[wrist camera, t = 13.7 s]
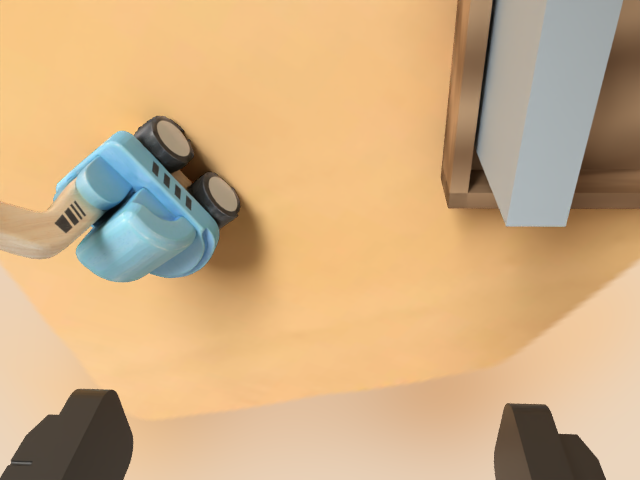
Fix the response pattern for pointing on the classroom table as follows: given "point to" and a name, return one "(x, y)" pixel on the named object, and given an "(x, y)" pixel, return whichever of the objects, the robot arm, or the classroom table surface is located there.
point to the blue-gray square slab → (541, 102)
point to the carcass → (605, 134)
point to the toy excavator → (129, 209)
